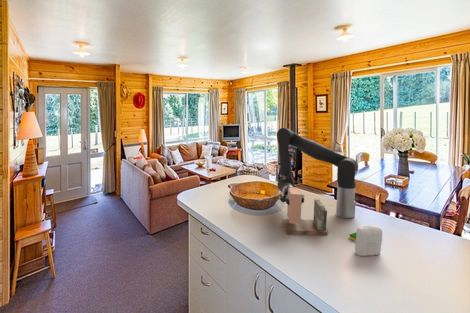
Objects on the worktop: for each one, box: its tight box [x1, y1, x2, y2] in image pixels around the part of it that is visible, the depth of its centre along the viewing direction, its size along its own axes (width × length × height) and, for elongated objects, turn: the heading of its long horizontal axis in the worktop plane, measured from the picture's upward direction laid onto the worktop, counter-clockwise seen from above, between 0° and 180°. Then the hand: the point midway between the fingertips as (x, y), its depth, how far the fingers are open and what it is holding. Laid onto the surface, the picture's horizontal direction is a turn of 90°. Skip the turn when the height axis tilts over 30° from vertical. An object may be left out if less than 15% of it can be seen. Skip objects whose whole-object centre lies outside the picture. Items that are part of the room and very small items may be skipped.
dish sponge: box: [349, 231, 357, 243], centre depth 123 cm, size 7×14×2 cm, turn 115°
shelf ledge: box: [282, 198, 329, 236], centre depth 132 cm, size 20×14×14 cm
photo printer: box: [354, 224, 383, 257], centre depth 108 cm, size 10×4×12 cm, turn 98°
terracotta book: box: [286, 187, 303, 224], centre depth 132 cm, size 5×11×15 cm, turn 176°
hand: (294, 203), depth 131 cm, fingers closed on terracotta book, 5 cm apart
